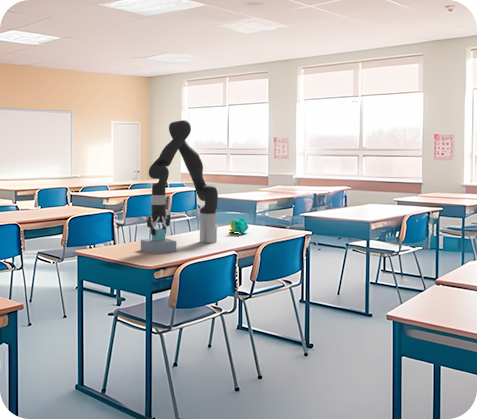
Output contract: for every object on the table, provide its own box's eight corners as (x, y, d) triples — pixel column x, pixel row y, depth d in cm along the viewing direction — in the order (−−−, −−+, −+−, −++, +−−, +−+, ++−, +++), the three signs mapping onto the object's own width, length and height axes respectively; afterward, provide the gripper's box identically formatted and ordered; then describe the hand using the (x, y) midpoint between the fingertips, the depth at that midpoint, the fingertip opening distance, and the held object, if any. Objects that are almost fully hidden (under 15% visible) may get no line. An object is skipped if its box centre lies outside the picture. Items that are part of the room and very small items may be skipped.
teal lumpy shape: (222, 222, 358) (236, 212, 364) (230, 237, 360) (245, 228, 366) (232, 220, 345) (247, 210, 351) (241, 236, 347) (256, 226, 353)
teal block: (159, 239, 288) (160, 228, 288) (165, 240, 285) (165, 229, 284) (151, 240, 285) (152, 228, 285) (157, 241, 281) (157, 230, 281)
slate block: (164, 248, 295) (164, 237, 294) (176, 252, 284) (176, 241, 283) (140, 250, 287) (140, 239, 286) (152, 254, 276) (152, 243, 275)
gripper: (165, 202, 290) (165, 233, 292) (143, 203, 281) (143, 235, 282) (173, 203, 285) (173, 234, 287) (151, 204, 275) (150, 236, 277)
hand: (158, 234), depth 285 cm, fingers open, 6 cm apart
